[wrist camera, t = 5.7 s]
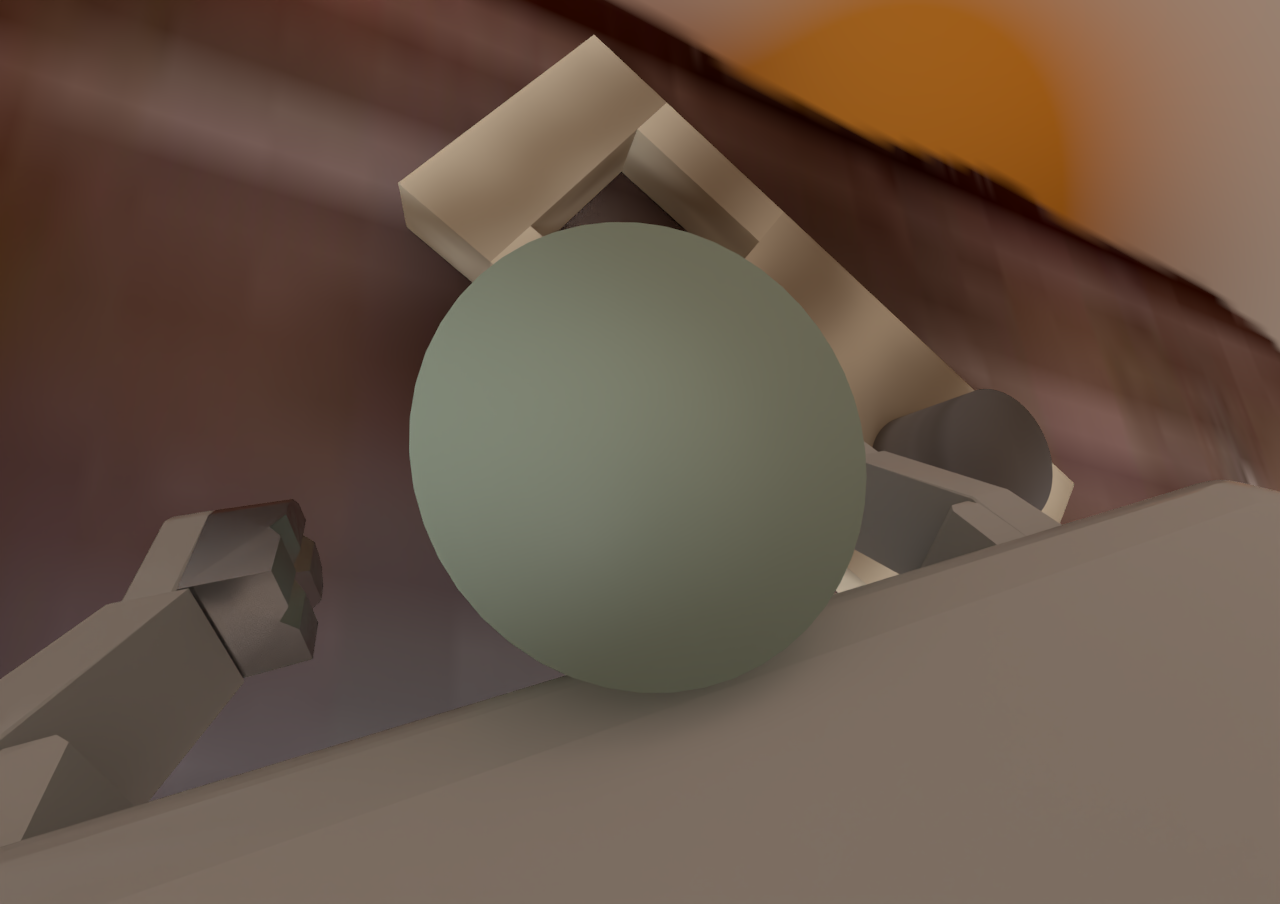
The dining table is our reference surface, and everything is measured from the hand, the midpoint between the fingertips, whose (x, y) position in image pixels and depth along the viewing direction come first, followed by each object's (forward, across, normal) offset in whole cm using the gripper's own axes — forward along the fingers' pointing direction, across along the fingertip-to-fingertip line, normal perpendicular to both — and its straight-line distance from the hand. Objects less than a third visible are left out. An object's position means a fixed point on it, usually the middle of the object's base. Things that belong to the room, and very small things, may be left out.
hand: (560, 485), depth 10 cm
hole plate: (+7, -9, +2) cm, 12 cm away
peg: (+4, 0, +5) cm, 7 cm away
